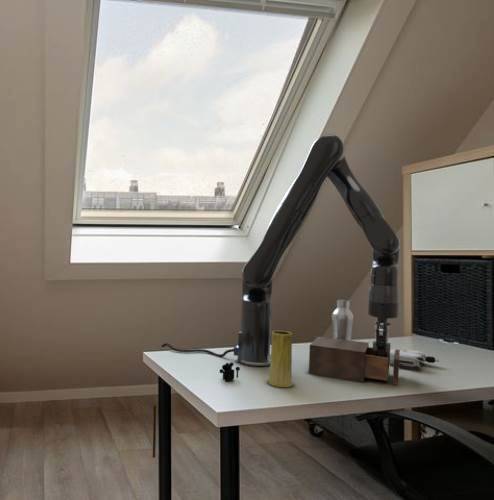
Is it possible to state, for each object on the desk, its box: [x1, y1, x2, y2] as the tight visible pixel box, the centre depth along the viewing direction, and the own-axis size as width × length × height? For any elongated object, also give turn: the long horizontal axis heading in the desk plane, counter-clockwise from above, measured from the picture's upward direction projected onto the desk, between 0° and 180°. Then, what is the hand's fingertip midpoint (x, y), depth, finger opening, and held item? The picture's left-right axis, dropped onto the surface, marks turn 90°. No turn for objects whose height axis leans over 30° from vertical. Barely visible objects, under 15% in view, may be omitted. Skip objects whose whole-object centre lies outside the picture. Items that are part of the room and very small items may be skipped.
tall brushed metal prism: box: [372, 340, 392, 357], centre depth 138 cm, size 4×2×8 cm, turn 59°
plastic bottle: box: [331, 299, 355, 341], centre depth 157 cm, size 6×7×20 cm
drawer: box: [364, 346, 421, 385], centre depth 138 cm, size 18×13×7 cm
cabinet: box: [308, 336, 370, 383], centre depth 143 cm, size 15×15×9 cm
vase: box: [268, 330, 293, 388], centre depth 130 cm, size 6×6×14 cm
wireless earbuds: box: [219, 361, 241, 382], centre depth 133 cm, size 7×2×5 cm, turn 117°
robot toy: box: [390, 349, 440, 366], centre depth 154 cm, size 12×4×15 cm
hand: (381, 359), depth 138 cm, fingers closed on tall brushed metal prism, 2 cm apart
